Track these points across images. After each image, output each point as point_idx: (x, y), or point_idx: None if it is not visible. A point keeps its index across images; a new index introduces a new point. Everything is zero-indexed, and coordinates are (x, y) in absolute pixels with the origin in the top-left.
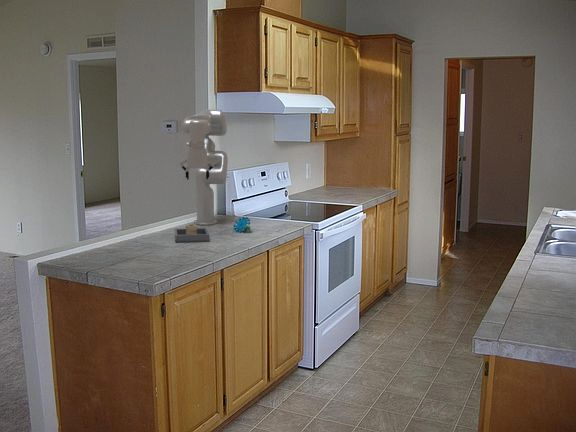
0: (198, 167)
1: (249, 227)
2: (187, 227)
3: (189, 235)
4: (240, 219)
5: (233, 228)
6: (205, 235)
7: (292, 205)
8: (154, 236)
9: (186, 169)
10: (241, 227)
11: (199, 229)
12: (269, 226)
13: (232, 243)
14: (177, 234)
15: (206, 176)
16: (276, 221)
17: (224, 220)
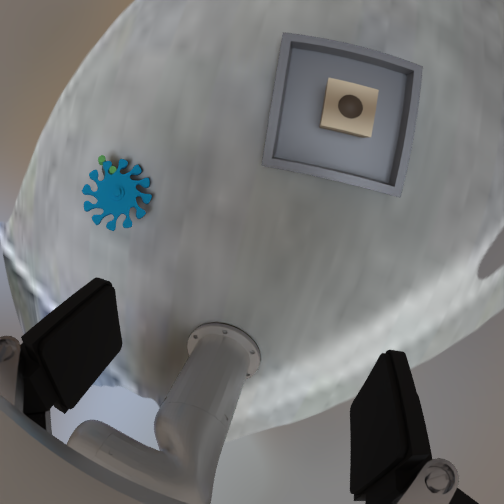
0: (115, 492)
1: (102, 156)
2: (372, 89)
3: (367, 48)
4: (109, 222)
5: (149, 200)
6: (298, 35)
7: None
8: (455, 211)
9: (440, 498)
10: (124, 177)
11: (295, 162)
12: (62, 237)
13: (209, 6)
14: (385, 182)
15: (91, 313)
16: (52, 289)
17: (164, 359)
